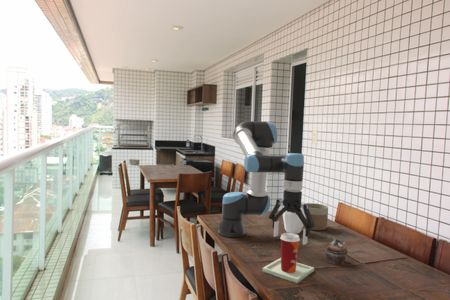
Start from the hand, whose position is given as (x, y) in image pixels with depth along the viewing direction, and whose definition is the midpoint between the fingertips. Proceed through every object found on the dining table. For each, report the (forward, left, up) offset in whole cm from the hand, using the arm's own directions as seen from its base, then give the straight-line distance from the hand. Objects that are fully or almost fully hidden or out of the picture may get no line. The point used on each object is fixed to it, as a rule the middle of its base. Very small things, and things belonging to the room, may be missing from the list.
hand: (289, 239), depth 144 cm
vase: (-25, +55, -14) cm, 62 cm away
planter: (-20, +73, -14) cm, 77 cm away
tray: (0, 0, -14) cm, 14 cm away
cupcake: (+11, +26, -14) cm, 31 cm away
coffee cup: (0, 0, -13) cm, 13 cm away
